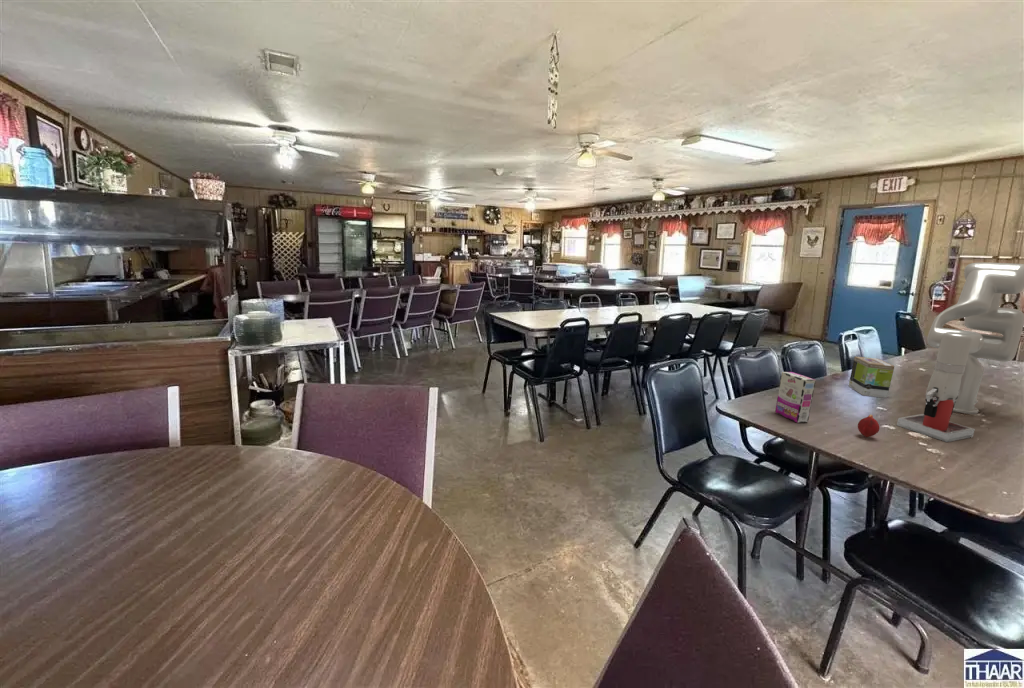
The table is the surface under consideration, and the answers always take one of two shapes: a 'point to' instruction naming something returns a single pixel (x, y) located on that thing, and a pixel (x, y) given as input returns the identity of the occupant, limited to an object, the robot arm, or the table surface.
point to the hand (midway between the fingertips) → (937, 414)
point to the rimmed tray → (949, 435)
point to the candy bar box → (795, 396)
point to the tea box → (871, 376)
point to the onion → (868, 426)
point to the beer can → (940, 416)
